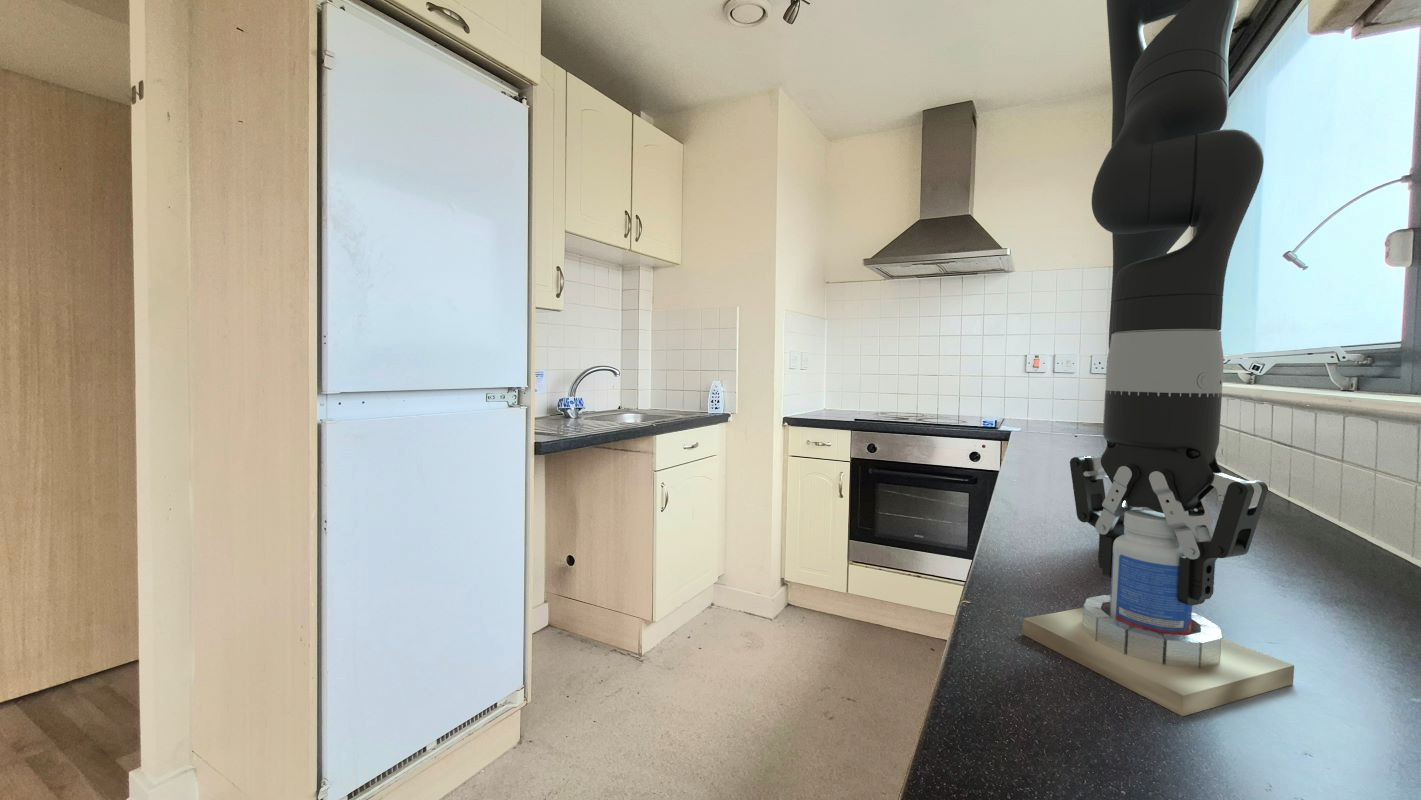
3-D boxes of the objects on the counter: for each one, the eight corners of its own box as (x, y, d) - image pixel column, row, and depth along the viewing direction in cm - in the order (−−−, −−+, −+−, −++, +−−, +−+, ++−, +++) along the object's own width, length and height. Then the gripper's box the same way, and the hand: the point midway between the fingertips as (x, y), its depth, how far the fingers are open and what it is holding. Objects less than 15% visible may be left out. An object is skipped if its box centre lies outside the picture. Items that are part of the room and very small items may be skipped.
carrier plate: (1121, 615, 56) (1122, 600, 56) (1292, 684, 44) (1294, 665, 44) (1022, 634, 52) (1023, 618, 52) (1182, 716, 39) (1183, 695, 39)
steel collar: (1129, 611, 53) (1130, 590, 53) (1246, 656, 45) (1248, 632, 45) (1059, 624, 50) (1060, 602, 50) (1171, 675, 42) (1172, 649, 42)
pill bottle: (1206, 648, 44) (1214, 526, 44) (1129, 641, 45) (1135, 521, 45) (1165, 619, 50) (1172, 509, 49) (1097, 612, 51) (1103, 505, 50)
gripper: (1302, 391, 41) (1287, 618, 42) (1106, 385, 55) (1098, 557, 56) (1238, 391, 39) (1223, 633, 39) (1048, 385, 52) (1041, 565, 53)
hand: (1150, 588), depth 48 cm, fingers closed on pill bottle, 5 cm apart
